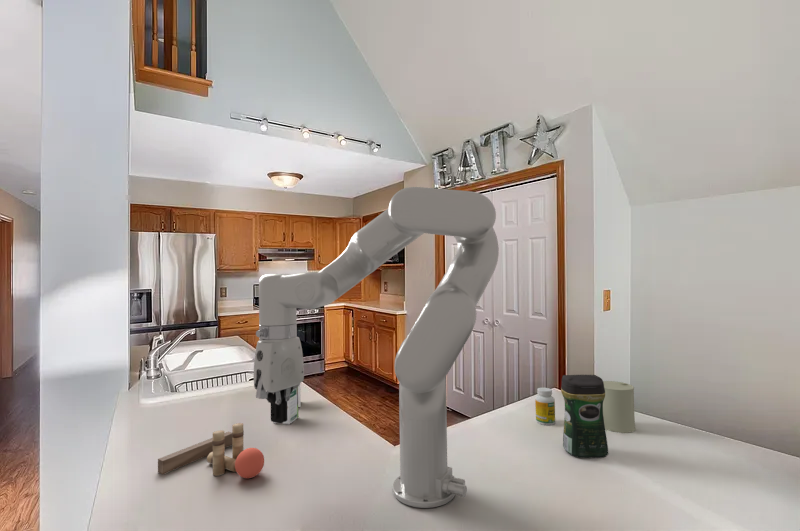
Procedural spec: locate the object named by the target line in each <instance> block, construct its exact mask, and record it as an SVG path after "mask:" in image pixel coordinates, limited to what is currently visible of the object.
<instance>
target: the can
mask: <svg viewBox="0 0 800 531" xmlns="http://www.w3.org/2000/svg"><path fill="white" fill-rule="evenodd" d="M603 383H604V388H605V398H604V401H603V417H604V425H605V431H610V432H615V433H621V434H629V433H633V432H635V431H636V429H637V428H636V422H635V421H636V420H635V418H636V417H635V387H634V385H632V384H629V383H626V382H622V381H621V382H620V381H615V380H613V381H612V380H606V381H605V380H603Z"/></svg>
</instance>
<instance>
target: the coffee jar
mask: <svg viewBox="0 0 800 531" xmlns="http://www.w3.org/2000/svg"><path fill="white" fill-rule="evenodd" d="M603 381H604V380H603V378H601V377H600V376H598V375H597V374H563V375H562V378H561V388H560V390H561V394H562V397H563V400H564V421H563V433H562V434H563V436H562V447H563V449H564V451H565V452H566V453H567V454H568V455H570V456H573V457H575V458H579V459H580V458H581V459H601V458H603V459H604V458H605V457H607V456H608V455H609V444H608V439H607V432H606V429H605V425H604V417H603V401H604V398H605V388H604V383H603Z"/></svg>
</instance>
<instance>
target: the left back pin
mask: <svg viewBox="0 0 800 531" xmlns="http://www.w3.org/2000/svg"><path fill="white" fill-rule="evenodd" d="M224 433H225V430H223V429H222V430H221V429H220V430H216V431H214V432H212V438H213V440H212V445H213V464H212V476H214V477H219V476H222V475H223V474H225V473H226V471H225V470H226V469H225V456H226V454H225V451H226V450H225V449H226V448H225V444H224V443H225V438H224Z"/></svg>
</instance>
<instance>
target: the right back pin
mask: <svg viewBox="0 0 800 531" xmlns="http://www.w3.org/2000/svg"><path fill="white" fill-rule="evenodd" d="M231 428H232V431H231V432H232V445H231V448H232V452H231V453H232V454H231V455H232V457H231V458H233V459H237V457H238V455H239V454H240V453H241V452H242V451H243V450H245V448H244V435H245V434H244V433H245V432H244V423H241V422H239V423H234V424H232V426H231Z"/></svg>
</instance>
